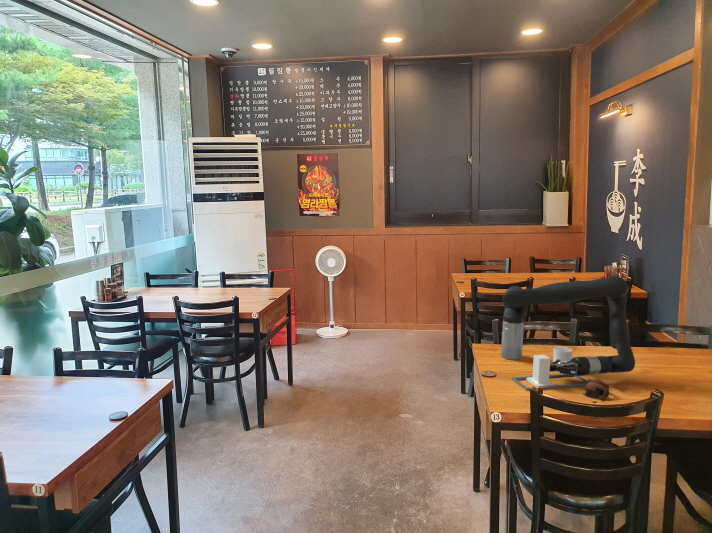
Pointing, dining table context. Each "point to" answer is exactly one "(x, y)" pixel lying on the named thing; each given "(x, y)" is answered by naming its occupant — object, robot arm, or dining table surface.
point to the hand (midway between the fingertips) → (546, 368)
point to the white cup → (562, 353)
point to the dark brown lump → (592, 390)
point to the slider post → (540, 371)
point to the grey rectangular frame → (551, 386)
